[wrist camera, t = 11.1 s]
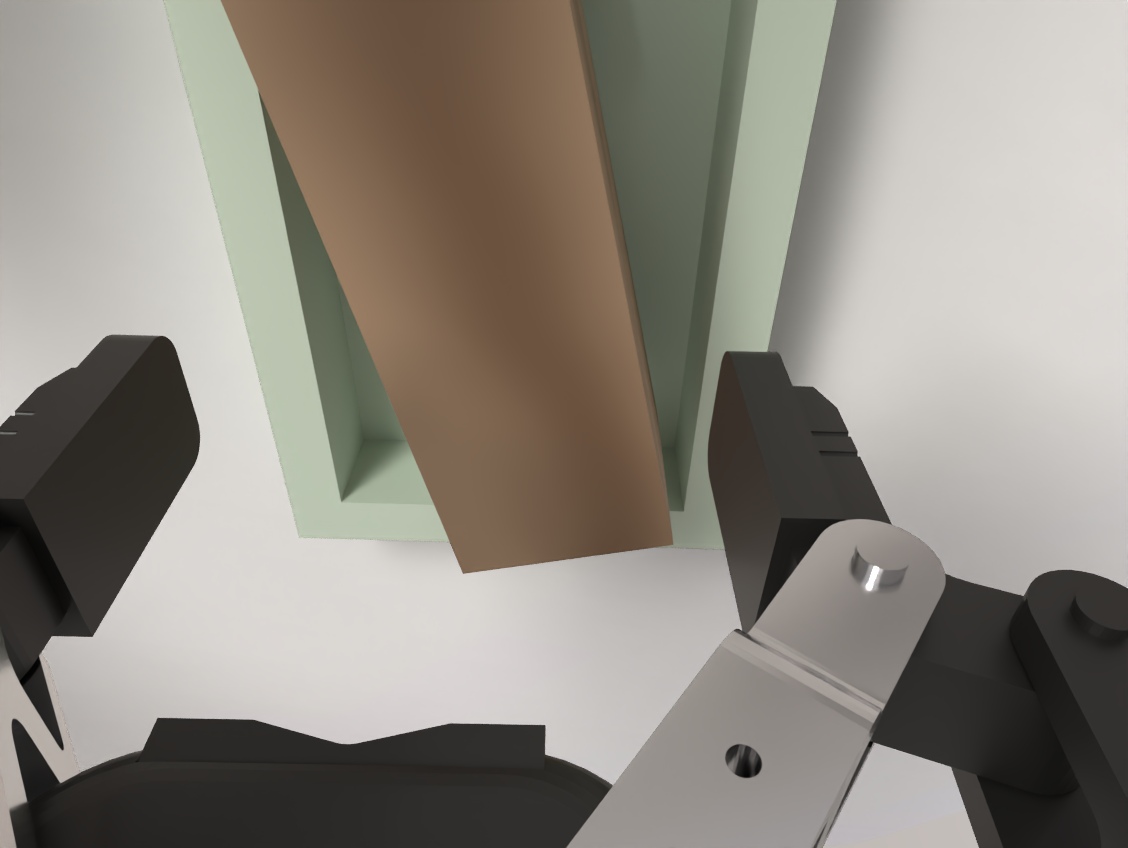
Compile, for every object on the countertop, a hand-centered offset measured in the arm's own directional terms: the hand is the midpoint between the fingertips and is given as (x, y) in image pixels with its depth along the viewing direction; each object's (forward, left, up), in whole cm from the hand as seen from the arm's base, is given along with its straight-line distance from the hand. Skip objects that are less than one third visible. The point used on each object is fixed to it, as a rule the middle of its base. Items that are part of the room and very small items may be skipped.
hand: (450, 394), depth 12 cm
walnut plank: (0, +1, -8) cm, 8 cm away
